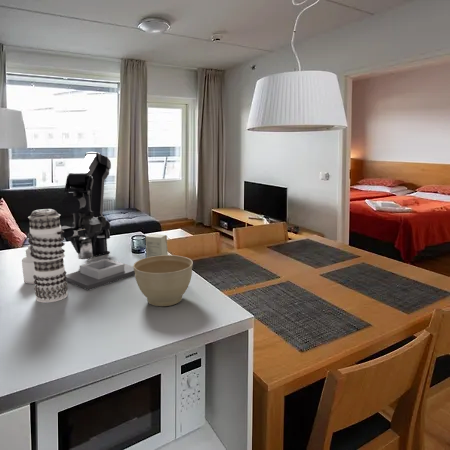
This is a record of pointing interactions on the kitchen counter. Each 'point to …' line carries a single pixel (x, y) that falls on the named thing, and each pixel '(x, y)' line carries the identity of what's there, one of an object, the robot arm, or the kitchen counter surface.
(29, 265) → the eye dropper bottle
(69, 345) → the kitchen counter surface
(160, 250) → the skincare box
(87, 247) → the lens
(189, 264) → the planter bowl
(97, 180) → the robot arm
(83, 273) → the white tray on slab
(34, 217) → the white patterned cylinder
